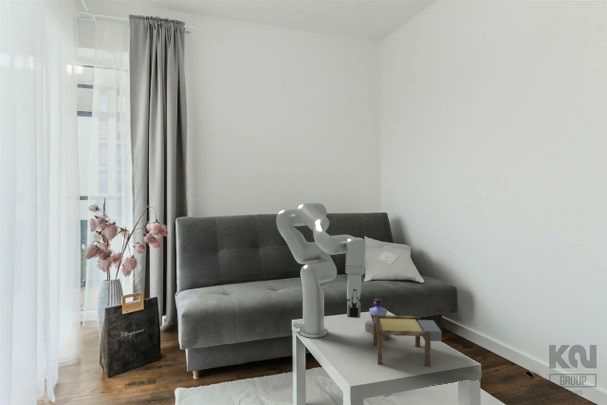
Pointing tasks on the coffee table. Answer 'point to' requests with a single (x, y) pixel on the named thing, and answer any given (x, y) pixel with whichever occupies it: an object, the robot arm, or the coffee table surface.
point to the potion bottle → (377, 309)
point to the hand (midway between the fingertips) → (353, 314)
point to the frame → (379, 332)
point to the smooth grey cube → (349, 309)
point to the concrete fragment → (370, 329)
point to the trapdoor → (413, 326)
